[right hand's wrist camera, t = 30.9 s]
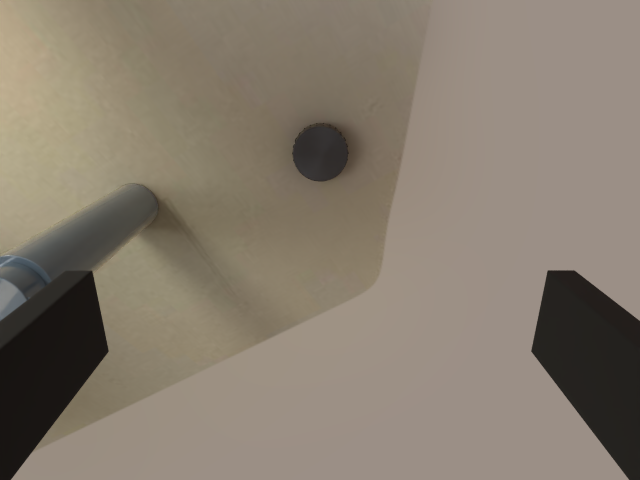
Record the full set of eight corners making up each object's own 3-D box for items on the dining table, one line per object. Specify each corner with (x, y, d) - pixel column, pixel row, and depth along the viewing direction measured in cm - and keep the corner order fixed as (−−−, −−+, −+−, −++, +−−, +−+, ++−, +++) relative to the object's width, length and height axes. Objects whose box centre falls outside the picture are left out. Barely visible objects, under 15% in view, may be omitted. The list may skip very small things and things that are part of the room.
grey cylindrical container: (118, 227, 44) (-29, 339, 25) (108, 184, 42) (-56, 271, 24) (162, 224, 44) (46, 335, 25) (153, 182, 42) (23, 266, 24)
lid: (358, 152, 41) (360, 156, 39) (318, 187, 43) (318, 193, 41) (322, 111, 40) (322, 113, 38) (282, 148, 41) (280, 152, 39)
